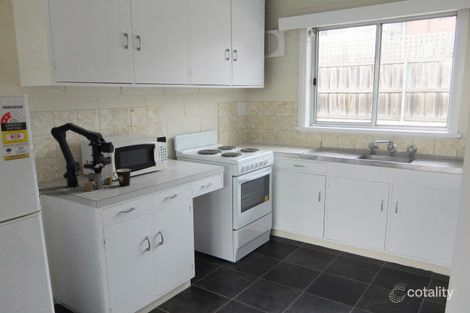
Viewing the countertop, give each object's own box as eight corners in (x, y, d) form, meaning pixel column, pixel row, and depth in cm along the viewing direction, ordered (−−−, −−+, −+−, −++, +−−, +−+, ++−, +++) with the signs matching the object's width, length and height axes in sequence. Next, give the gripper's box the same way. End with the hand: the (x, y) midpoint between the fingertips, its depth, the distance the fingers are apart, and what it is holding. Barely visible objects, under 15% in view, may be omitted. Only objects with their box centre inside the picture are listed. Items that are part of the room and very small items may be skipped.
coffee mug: (134, 185, 235) (133, 170, 233) (122, 187, 228) (121, 172, 227) (124, 182, 242) (123, 167, 241) (112, 184, 236) (111, 169, 234)
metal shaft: (91, 191, 221) (90, 182, 220) (84, 190, 223) (84, 182, 222) (112, 184, 238) (111, 176, 237) (106, 183, 240) (105, 175, 239)
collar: (98, 189, 225) (97, 174, 223) (88, 188, 228) (87, 173, 226) (102, 188, 228) (101, 173, 226) (92, 186, 231) (91, 172, 229)
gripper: (96, 155, 216) (98, 181, 218) (117, 151, 233) (118, 174, 235) (81, 154, 220) (83, 180, 222) (103, 150, 237) (105, 173, 239)
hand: (98, 177), depth 230 cm, fingers closed
